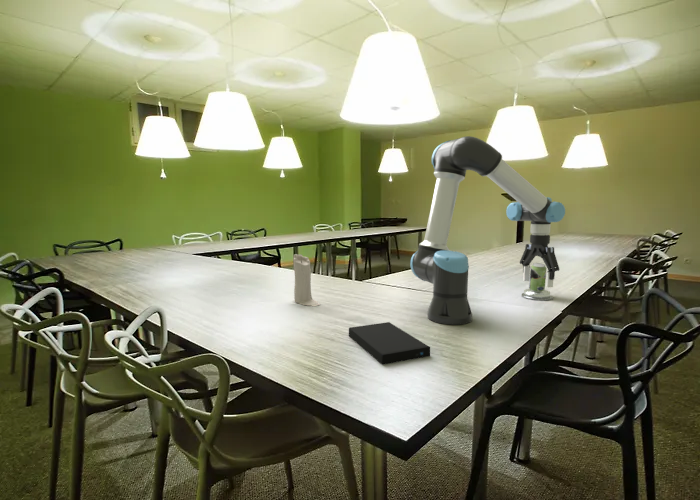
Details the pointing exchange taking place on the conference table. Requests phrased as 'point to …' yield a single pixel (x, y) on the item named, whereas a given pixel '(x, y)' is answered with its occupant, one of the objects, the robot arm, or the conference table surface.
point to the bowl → (537, 295)
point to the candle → (303, 281)
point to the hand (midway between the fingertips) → (537, 283)
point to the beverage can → (537, 277)
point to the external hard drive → (388, 343)
